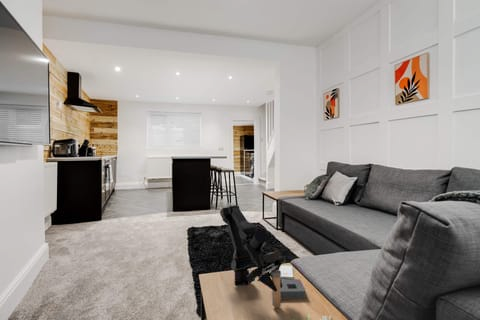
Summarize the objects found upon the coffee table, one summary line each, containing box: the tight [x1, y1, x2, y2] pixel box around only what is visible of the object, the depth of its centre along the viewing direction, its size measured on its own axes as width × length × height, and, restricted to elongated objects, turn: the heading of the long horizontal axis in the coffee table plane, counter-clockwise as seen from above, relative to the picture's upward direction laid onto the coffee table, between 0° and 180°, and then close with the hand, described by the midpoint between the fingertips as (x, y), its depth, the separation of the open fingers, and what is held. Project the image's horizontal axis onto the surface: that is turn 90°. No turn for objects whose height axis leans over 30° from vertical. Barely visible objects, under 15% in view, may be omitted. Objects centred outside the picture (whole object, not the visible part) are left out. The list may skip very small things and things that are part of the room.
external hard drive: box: [279, 264, 295, 280], centre depth 124 cm, size 2×8×12 cm
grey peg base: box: [280, 278, 307, 300], centre depth 106 cm, size 12×10×3 cm
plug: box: [271, 270, 282, 308], centre depth 95 cm, size 4×4×13 cm
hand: (279, 289), depth 94 cm, fingers closed on plug, 3 cm apart
